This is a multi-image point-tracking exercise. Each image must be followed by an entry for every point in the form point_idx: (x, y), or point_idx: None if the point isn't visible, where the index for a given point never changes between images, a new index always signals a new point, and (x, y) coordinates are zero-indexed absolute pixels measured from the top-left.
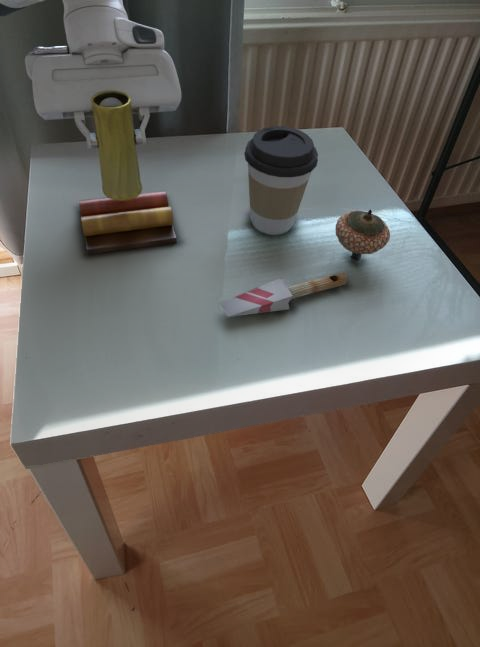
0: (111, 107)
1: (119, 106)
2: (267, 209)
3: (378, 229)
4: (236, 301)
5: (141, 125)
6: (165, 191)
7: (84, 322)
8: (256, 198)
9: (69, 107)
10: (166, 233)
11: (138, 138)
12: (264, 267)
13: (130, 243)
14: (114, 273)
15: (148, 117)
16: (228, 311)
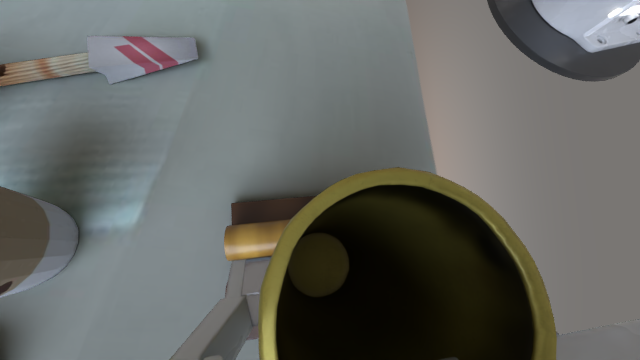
0: (401, 177)
1: (349, 187)
2: (8, 190)
3: None
4: (174, 53)
5: (233, 308)
6: None
7: (361, 82)
8: (9, 207)
9: (609, 336)
10: (246, 215)
11: (260, 260)
12: (107, 132)
13: (306, 197)
14: (329, 151)
15: (181, 349)
16: (191, 43)
